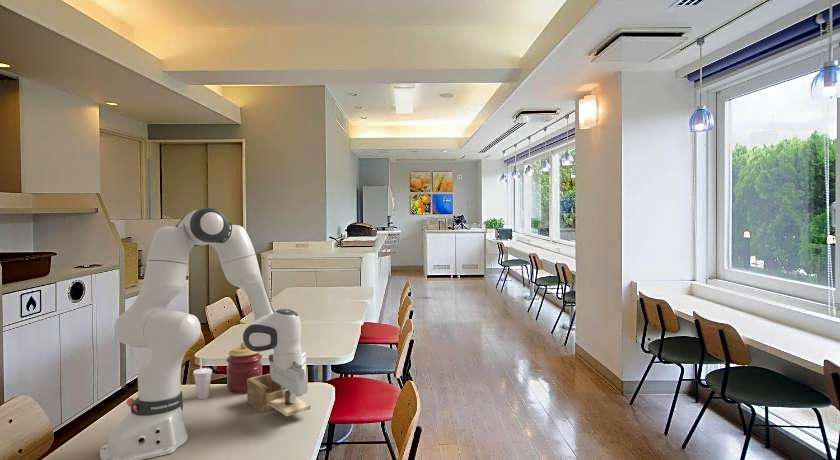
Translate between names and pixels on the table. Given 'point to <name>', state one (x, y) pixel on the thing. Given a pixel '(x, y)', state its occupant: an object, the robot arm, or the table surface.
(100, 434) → the table surface
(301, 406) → the lid
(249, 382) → the lid box
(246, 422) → the table surface
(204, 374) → the smoothie
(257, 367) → the canister
